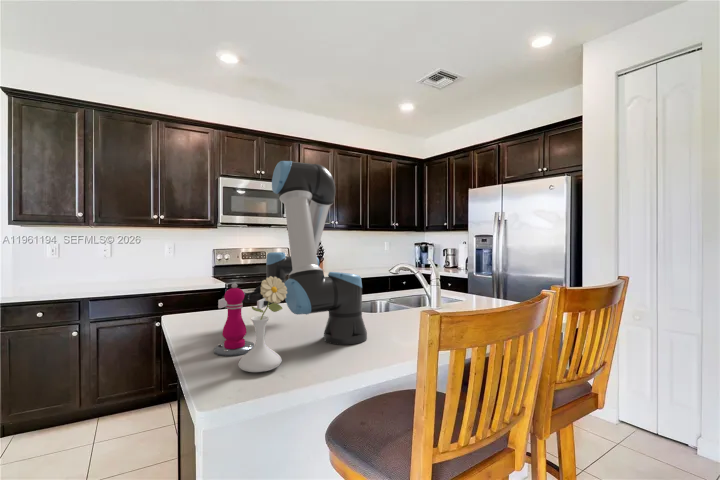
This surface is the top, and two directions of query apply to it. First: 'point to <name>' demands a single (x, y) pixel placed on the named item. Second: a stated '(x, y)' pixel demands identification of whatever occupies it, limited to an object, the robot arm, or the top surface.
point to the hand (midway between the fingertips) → (238, 304)
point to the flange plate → (223, 351)
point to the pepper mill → (234, 319)
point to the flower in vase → (260, 354)
